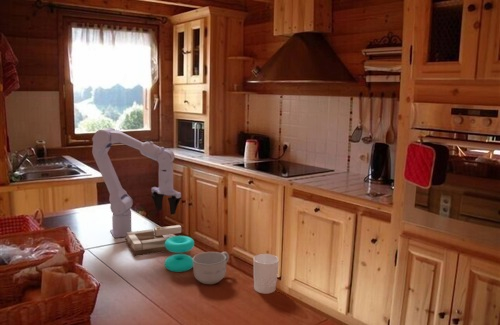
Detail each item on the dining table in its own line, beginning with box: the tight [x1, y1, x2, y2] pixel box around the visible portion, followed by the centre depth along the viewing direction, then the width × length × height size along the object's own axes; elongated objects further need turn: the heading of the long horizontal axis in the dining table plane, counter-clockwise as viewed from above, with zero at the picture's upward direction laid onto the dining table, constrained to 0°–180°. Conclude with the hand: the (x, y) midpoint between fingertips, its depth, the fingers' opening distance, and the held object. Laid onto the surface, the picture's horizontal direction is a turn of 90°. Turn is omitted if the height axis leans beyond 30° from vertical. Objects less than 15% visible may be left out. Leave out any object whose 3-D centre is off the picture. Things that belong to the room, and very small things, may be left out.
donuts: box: [164, 235, 195, 273], centre depth 145 cm, size 10×10×10 cm
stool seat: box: [125, 228, 170, 257], centre depth 163 cm, size 14×14×4 cm
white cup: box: [252, 253, 280, 295], centre depth 132 cm, size 8×8×10 cm
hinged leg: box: [153, 224, 182, 236], centre depth 172 cm, size 10×2×3 cm, turn 118°
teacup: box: [192, 251, 230, 285], centre depth 138 cm, size 14×11×8 cm
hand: (166, 212), depth 173 cm, fingers open, 7 cm apart
